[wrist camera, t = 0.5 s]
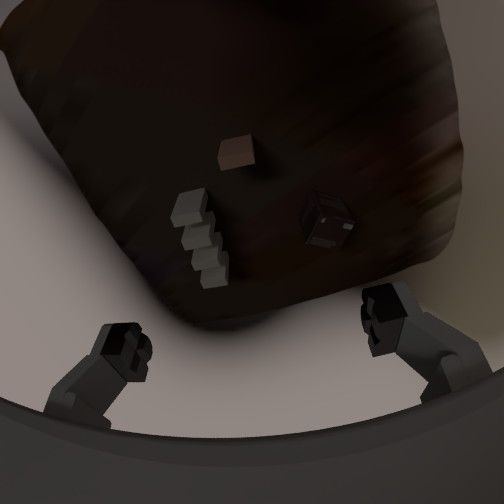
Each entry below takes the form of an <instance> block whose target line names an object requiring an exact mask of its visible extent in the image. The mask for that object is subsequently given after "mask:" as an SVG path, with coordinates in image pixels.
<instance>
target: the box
mask: <svg viewBox="0 0 504 504" xmlns="http://www.w3.org/2000/svg"><path fill="white" fill-rule="evenodd" d="M299 221H300V224H301V228H302V231H303V235H304V239H305V242H306V244H308V245H312V246H317V247H321V248H325V249H330V250H334V251H339V250H340V248H341V246H342V244H343V243H344V241H345V239H346V238H347V236H348V234H349V232H350V231H351V229H352V227H353V225H354V223H355V222H354V220H353V218H352V216H351V215H350V213H349V211H348V209H347V207H346V206H345V204H344V202H343V200H342V199H341V198H338V197H335V196H331V195H328V194H325V193H321V192H318V191H314V190H311V191H310V194H309V196H308V198H307V201H306V203H305V205H304V207H303V209H302V212H301V214H300V216H299Z"/></svg>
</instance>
